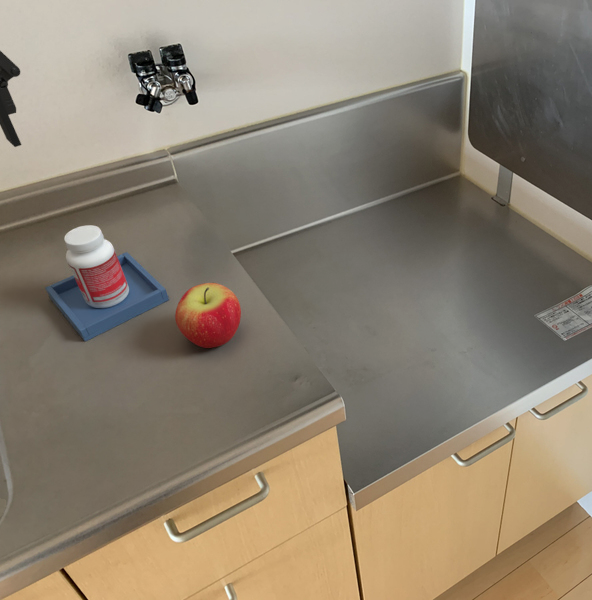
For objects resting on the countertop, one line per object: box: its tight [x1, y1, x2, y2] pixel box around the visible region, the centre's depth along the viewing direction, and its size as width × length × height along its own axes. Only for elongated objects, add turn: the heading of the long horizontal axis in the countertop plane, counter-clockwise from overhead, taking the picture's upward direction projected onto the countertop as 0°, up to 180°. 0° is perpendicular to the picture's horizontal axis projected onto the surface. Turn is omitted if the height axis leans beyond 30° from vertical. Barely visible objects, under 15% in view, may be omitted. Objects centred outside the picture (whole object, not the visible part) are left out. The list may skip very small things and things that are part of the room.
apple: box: [174, 282, 242, 349], centre depth 81 cm, size 8×8×10 cm
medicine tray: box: [44, 251, 170, 342], centre depth 90 cm, size 13×13×2 cm
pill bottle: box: [64, 224, 129, 308], centre depth 86 cm, size 6×6×11 cm
